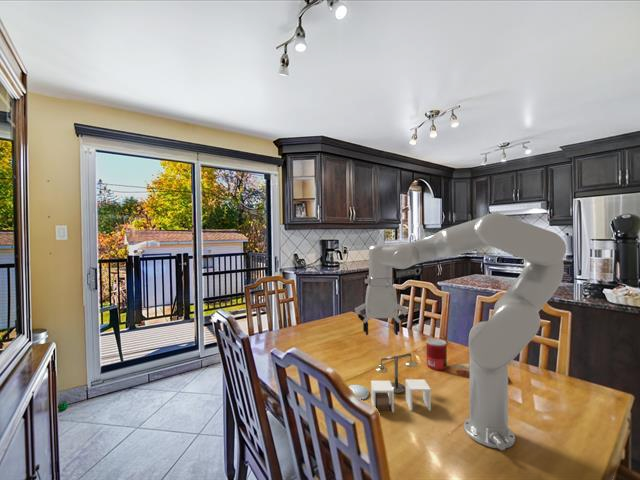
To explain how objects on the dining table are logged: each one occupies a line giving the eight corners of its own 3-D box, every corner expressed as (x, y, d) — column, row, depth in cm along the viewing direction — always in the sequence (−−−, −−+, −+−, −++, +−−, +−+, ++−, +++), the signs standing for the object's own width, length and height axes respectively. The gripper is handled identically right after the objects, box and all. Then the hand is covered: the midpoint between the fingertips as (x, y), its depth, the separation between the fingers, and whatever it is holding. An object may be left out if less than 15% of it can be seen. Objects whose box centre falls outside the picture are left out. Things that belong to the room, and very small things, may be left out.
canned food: (448, 371, 123) (448, 345, 123) (428, 370, 125) (427, 344, 125) (444, 363, 131) (444, 338, 131) (425, 362, 132) (425, 337, 132)
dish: (370, 400, 103) (370, 397, 103) (344, 400, 103) (344, 396, 103) (367, 387, 112) (367, 383, 112) (343, 386, 112) (343, 383, 112)
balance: (419, 393, 107) (419, 356, 106) (376, 393, 107) (376, 356, 107) (415, 385, 113) (414, 350, 112) (374, 385, 113) (374, 350, 113)
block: (389, 410, 97) (389, 398, 97) (377, 410, 97) (376, 398, 97) (387, 403, 101) (387, 391, 101) (375, 403, 101) (375, 391, 101)
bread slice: (443, 370, 125) (443, 361, 125) (475, 363, 132) (475, 354, 131) (480, 391, 108) (480, 381, 108) (515, 381, 115) (515, 372, 115)
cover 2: (430, 411, 96) (430, 389, 96) (410, 410, 97) (410, 389, 96) (424, 399, 103) (424, 379, 103) (405, 399, 103) (405, 379, 103)
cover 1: (394, 412, 96) (393, 390, 96) (373, 412, 96) (373, 390, 96) (390, 401, 102) (389, 380, 102) (371, 400, 103) (370, 380, 103)
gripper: (355, 284, 95) (355, 337, 96) (409, 284, 94) (410, 337, 95) (353, 280, 103) (354, 330, 103) (404, 280, 102) (404, 330, 102)
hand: (381, 333), depth 99 cm, fingers open, 9 cm apart
